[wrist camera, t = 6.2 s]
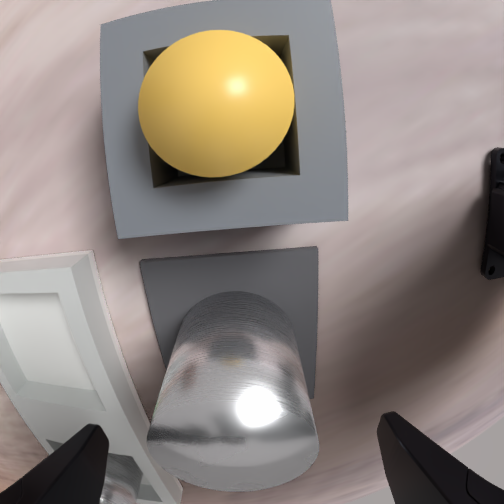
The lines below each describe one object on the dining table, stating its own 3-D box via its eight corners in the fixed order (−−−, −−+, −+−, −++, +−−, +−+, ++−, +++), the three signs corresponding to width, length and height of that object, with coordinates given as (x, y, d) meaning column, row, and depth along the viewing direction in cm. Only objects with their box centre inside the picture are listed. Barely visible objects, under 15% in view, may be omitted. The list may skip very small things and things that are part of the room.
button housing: (304, 41, 10) (330, -2, 6) (315, 195, 12) (348, 220, 8) (143, 57, 10) (101, 24, 6) (157, 208, 12) (118, 239, 8)
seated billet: (130, 443, 16) (107, 521, 10) (152, 480, 17) (139, 547, 12) (66, 433, 16) (36, 498, 10) (94, 471, 17) (74, 529, 12)
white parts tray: (92, 249, 12) (70, 267, 10) (182, 488, 18) (180, 508, 16) (-24, 262, 12) (-47, 275, 10) (87, 473, 18) (81, 491, 17)
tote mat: (316, 246, 12) (318, 248, 12) (312, 394, 15) (313, 398, 15) (141, 259, 12) (139, 262, 12) (178, 401, 15) (177, 405, 15)
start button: (272, 68, 9) (287, 25, 5) (279, 161, 10) (299, 171, 6) (174, 78, 9) (135, 43, 5) (182, 170, 10) (145, 185, 6)
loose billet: (293, 286, 12) (326, 393, 7) (294, 379, 14) (313, 485, 8) (169, 294, 12) (122, 399, 7) (190, 385, 14) (171, 489, 8)
